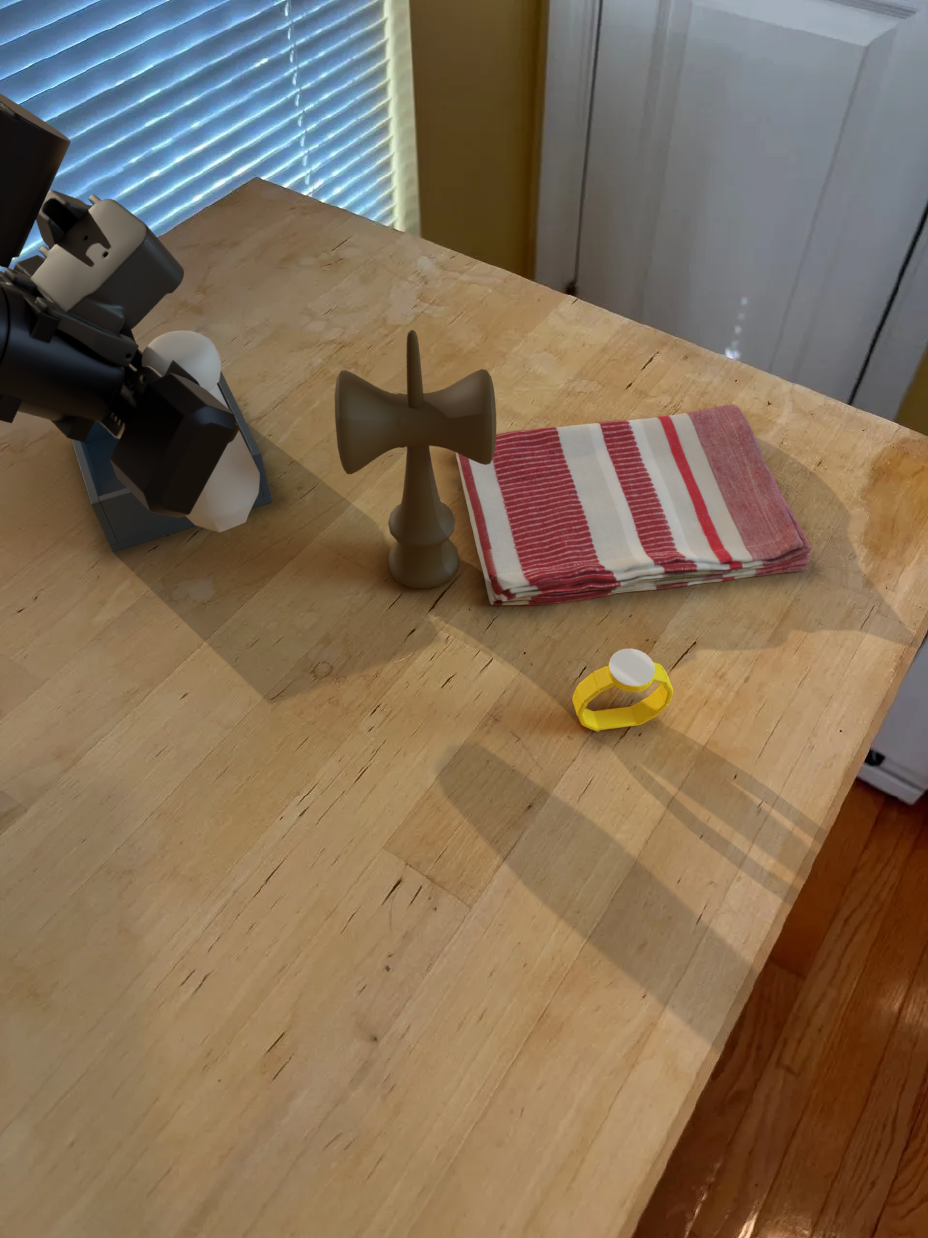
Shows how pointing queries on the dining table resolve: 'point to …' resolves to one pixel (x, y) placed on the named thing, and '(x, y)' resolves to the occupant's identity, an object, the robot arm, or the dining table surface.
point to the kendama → (417, 456)
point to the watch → (629, 675)
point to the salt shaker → (236, 469)
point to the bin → (120, 508)
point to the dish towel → (628, 508)
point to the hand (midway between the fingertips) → (218, 417)
